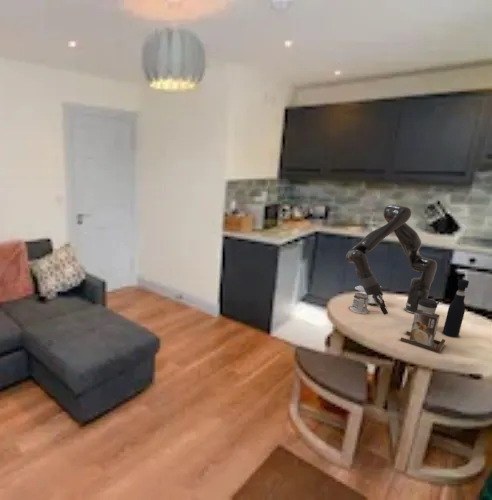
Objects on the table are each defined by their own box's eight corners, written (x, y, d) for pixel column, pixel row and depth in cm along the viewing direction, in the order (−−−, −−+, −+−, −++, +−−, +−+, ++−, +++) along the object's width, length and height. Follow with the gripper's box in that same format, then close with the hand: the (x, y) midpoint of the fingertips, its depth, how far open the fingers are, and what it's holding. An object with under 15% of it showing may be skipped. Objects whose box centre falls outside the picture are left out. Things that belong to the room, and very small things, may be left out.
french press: (361, 306, 224) (368, 268, 218) (374, 315, 213) (381, 274, 207) (346, 306, 224) (352, 268, 218) (357, 315, 213) (364, 274, 206)
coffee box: (433, 344, 181) (441, 314, 177) (430, 349, 177) (438, 318, 173) (411, 337, 188) (418, 308, 183) (408, 341, 183) (414, 312, 179)
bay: (406, 333, 192) (407, 328, 191) (444, 345, 180) (445, 339, 180) (400, 340, 185) (401, 335, 184) (439, 353, 173) (440, 347, 172)
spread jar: (383, 306, 226) (386, 288, 223) (367, 307, 224) (370, 289, 221) (368, 298, 237) (371, 281, 234) (352, 299, 235) (355, 282, 232)
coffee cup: (435, 330, 195) (441, 304, 191) (417, 329, 197) (423, 303, 193) (426, 323, 203) (432, 298, 199) (410, 322, 204) (415, 297, 201)
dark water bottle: (439, 331, 194) (452, 278, 186) (450, 331, 194) (463, 278, 187) (450, 337, 188) (464, 282, 180) (461, 337, 188) (476, 282, 180)
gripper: (381, 283, 188) (397, 314, 186) (374, 279, 200) (389, 308, 199) (365, 289, 190) (381, 319, 189) (360, 285, 203) (375, 313, 201)
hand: (386, 313), depth 194 cm, fingers closed
